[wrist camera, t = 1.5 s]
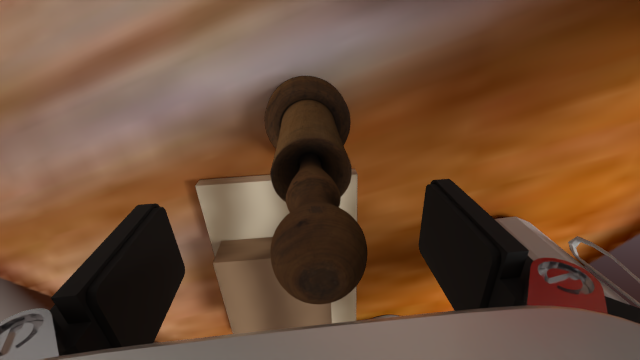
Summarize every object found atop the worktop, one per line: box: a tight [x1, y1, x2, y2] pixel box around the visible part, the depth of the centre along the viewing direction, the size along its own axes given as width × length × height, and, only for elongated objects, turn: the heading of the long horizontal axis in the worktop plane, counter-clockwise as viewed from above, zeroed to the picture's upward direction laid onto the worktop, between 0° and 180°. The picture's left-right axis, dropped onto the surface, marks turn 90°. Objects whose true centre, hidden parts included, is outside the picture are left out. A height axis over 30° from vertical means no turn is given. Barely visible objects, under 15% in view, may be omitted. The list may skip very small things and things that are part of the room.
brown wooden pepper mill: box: [265, 76, 367, 304], centre depth 16 cm, size 7×6×18 cm
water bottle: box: [495, 217, 640, 307], centre depth 20 cm, size 9×8×25 cm
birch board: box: [195, 169, 357, 323], centre depth 30 cm, size 14×20×1 cm
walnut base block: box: [213, 237, 332, 334], centre depth 29 cm, size 10×10×3 cm
